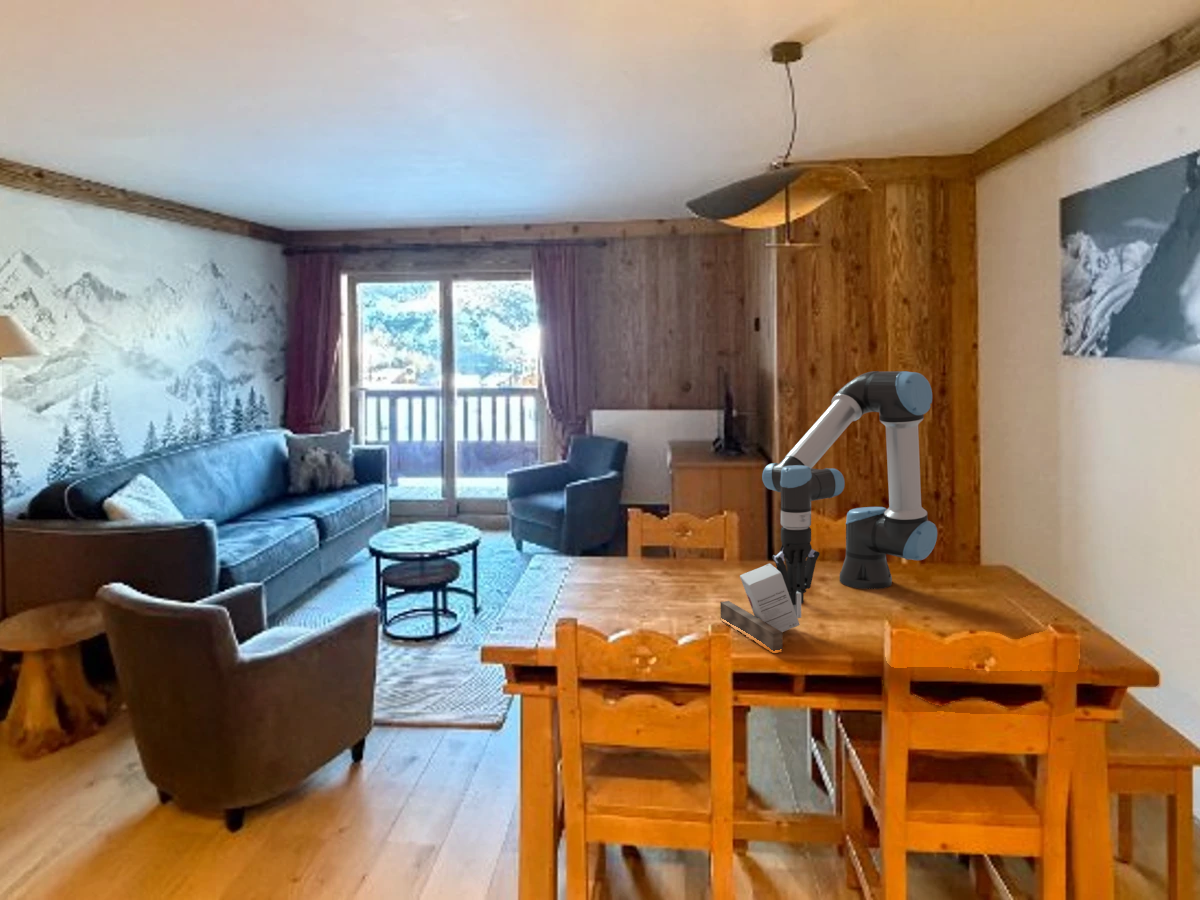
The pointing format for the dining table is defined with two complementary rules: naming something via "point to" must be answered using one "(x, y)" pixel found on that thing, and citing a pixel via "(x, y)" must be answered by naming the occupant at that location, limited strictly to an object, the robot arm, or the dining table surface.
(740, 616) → the board
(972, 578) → the dining table surface
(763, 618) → the supplement box
